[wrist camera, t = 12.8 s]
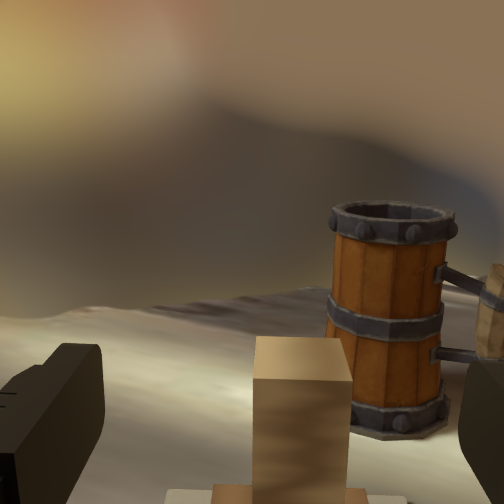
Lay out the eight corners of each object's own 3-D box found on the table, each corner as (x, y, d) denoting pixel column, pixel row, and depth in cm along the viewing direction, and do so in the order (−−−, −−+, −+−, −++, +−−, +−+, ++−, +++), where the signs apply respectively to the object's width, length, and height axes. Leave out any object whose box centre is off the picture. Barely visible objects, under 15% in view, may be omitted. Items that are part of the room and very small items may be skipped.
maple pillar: (251, 586, 25) (253, 378, 22) (254, 518, 29) (256, 336, 26) (338, 590, 25) (352, 381, 22) (329, 521, 29) (339, 338, 26)
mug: (521, 411, 48) (554, 214, 43) (477, 491, 38) (515, 243, 33) (349, 353, 61) (360, 194, 55) (280, 401, 50) (284, 210, 45)
